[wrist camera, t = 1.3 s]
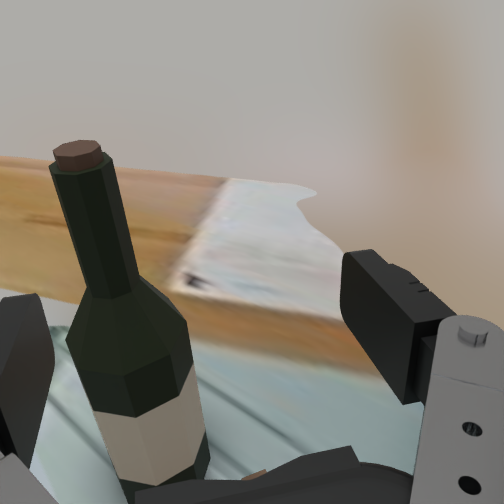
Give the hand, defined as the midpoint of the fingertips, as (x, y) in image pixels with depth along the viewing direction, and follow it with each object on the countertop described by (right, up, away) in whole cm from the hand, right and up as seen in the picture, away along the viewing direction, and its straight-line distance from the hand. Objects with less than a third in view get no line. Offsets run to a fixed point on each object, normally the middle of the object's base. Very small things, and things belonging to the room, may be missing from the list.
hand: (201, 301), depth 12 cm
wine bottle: (-6, -18, +29) cm, 35 cm away
